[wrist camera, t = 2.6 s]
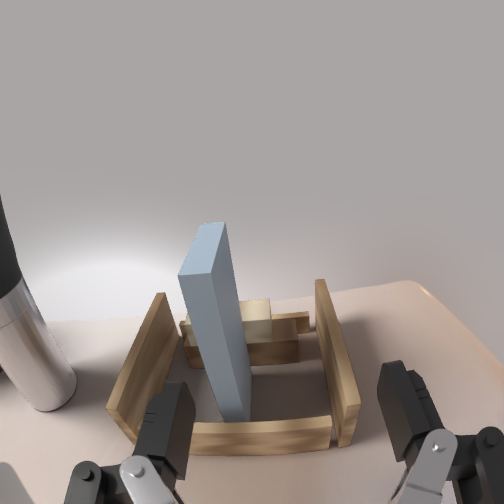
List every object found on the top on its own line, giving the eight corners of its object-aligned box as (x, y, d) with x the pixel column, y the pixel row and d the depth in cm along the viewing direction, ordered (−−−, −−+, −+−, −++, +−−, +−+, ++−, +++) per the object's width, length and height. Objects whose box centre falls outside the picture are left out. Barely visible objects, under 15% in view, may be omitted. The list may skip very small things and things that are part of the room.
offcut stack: (191, 367, 38) (175, 324, 35) (195, 347, 42) (182, 305, 38) (298, 362, 37) (297, 316, 34) (296, 340, 41) (293, 296, 37)
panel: (229, 435, 28) (177, 275, 20) (234, 375, 36) (201, 224, 28) (249, 435, 28) (210, 272, 19) (252, 374, 36) (225, 221, 27)
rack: (137, 448, 27) (105, 408, 23) (171, 336, 44) (156, 292, 41) (349, 445, 25) (361, 403, 22) (323, 326, 43) (324, 278, 39)
